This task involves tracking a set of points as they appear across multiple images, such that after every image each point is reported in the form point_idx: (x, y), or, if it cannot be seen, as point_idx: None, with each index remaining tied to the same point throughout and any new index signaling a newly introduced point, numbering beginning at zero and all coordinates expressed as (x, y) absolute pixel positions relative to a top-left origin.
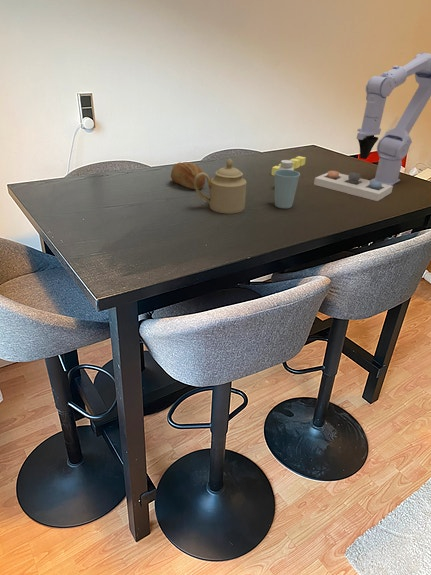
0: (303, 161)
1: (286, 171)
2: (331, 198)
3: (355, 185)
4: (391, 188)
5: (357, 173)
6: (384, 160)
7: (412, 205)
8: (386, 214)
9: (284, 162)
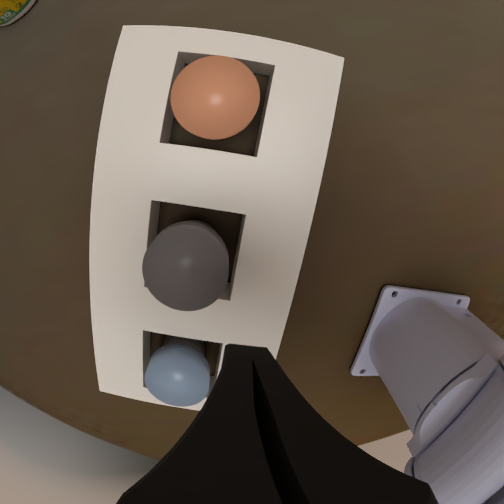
0: None
1: None
2: (8, 206)
3: (131, 282)
4: None
5: (210, 284)
6: (424, 399)
7: (165, 449)
8: (33, 396)
9: None
